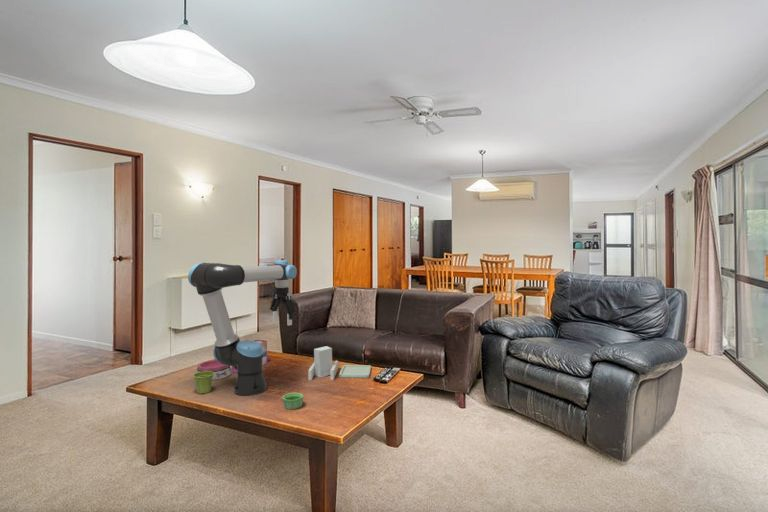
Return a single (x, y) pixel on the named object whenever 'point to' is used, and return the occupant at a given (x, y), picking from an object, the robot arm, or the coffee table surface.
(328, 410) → the coffee table surface
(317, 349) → the skincare box
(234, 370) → the gum box
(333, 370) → the bay
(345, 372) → the tray
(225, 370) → the dog bowl
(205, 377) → the plant pot
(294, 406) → the ramekin
